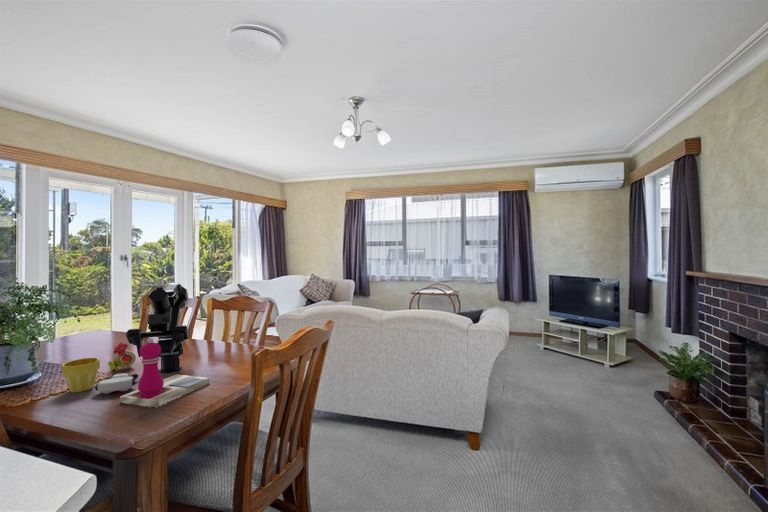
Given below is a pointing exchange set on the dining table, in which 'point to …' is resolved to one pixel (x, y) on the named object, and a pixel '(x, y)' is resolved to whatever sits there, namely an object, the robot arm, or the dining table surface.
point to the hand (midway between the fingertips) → (154, 355)
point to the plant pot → (81, 373)
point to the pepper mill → (150, 371)
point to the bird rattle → (126, 359)
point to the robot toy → (116, 383)
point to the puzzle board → (167, 391)
